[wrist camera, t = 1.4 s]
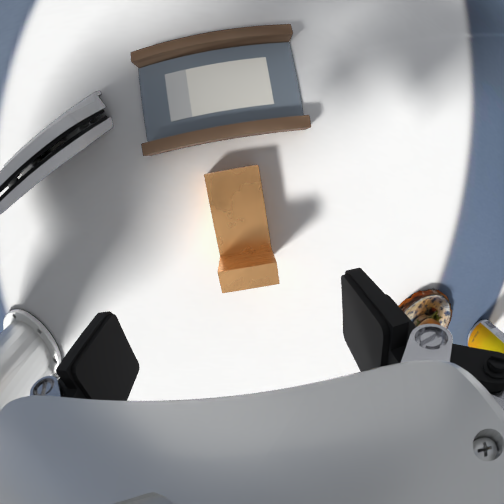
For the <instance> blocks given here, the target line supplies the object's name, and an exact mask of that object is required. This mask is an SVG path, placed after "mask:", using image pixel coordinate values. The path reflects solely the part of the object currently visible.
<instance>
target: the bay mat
mask: <svg viewBox="0 0 504 504" xmlns="http://www.w3.org/2000/svg"><path fill="white" fill-rule="evenodd" d="M138 70H139V80H140V89H141V98H142V106H143V113H144V121H145V128H146V134H147V141H148V142H150V141H153V140H157V139H161V138H165V137H170V136H174V135H178V134H183V133H187V132H192V131H197V130H202V129H207V128H212V127H217V126H223V125H229V124H235V123H242V122H248V121H256V120H263V119H272V118H281V117H291V116H303V109H302V103H301V98H300V92H299V87H298V82H297V76H296V71H295V66H294V61H293V57H292V52H291V47H290V43H289V42H283V43H267V44H256V45H247V46H238V47H231V48H224V49H218V50H212V51H207V52H201V53H196V54H192V55H187V56H183V57H178V58H174V59H170V60H166V61H162V62H159V63H155V64H152V65H148V66H145V67H142V68H139V69H138Z"/></svg>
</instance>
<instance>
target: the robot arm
mask: <svg viewBox="0 0 504 504" xmlns="http://www.w3.org/2000/svg"><path fill="white" fill-rule="evenodd" d="M341 285H342V307H343V334H344V338H345V341H346V343H347V345H348V347H349V349H350V351H351V353H352V355H353V357H354V359H355V361H356V363H357V365H358V367H359V369H360V371H361V372H358V373H354V374H350V375H345V376H341V377H337V378H333V379H328V380H324V381H320V382H315V383H310V384H305V385H300V386H295V387H290V388H284V389H278V390H272V391H266V392H259V393H252V394H244V395H236V396H227V397H217V398H205V399H190V400H169V401H127V399H128V396H129V394H130V391H131V389H132V386H133V384H134V381H135V379H136V377H137V374H138V372H139V363H138V361H137V359H136V357H135V355H134V353H133V351H132V349H131V347H130V345H129V343H128V341H127V339H126V336H125V334H124V332H123V330H122V328H121V325H120V323H119V321H118V319H117V317H116V315H114V314H112V312H110V311H109V312H101V313H98V314H97V315H96V316H95V317H94V319H93V320H92V321H91V322H90V324H89V325H88V326H87V328H86V329H85V330H84V331H83V333H82V334H81V335H80V337H79V338H78V339H77V341H76V342H75V343H74V345H73V346H72V347H71V349H70V350H69V352H68V353H67V354H66V356H65V357H64V358H63V360H62V361H61V355H60V351H59V349H58V346H57V344H56V342H55V340H54V338H53V337H52V335H51V334H50V332H49V331H48V330H47V329H46V327H45V326H44V325H43V324H42V323H41V322H40V321H39V320H38V319H36V318H35V317H34V316H33V315H31V314H30V313H28V312H26V311H24V310H20V309H14V310H11V311H10V312H9V313H7V315H6V316H5V318H4V322H3V327H4V330H3V331H2V332H1V333H0V504H504V353H501V352H497V351H491V350H484V349H479V348H473V347H467V346H462V345H456V344H452V341H453V339H452V335H451V333H450V331H449V330H448V329H446V328H445V327H443V326H441V325H437V324H423V325H420V326H418V327H417V326H416V325H415V324H414V323H413V322H412V321H411V320H410V318H409V317H408V316H407V315H406V314H405V313H404V312H403V311H402V310H401V308H400V307H399V306H398V305H397V304H396V303H395V302H394V301H393V300H392V299H391V298H390V296H388V295H386V294H384V293H383V292H382V290H381V289H380V288H379V287H378V286H377V285H376V284H375V283H374V282H373V281H372V280H371V279H370V278H369V277H368V276H367V274H366V273H365V272H364V271H363V270H362V269H361V268H356V269H352V270H347V271H346V272H345V275H342V276H341ZM56 372H57V374H58V375H59V377H60V379H59V380H57V378H56V377H54V376H50V375H53V374H55V373H56ZM29 395H30V396H29Z"/></svg>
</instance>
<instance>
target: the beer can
mask: <svg viewBox="0 0 504 504" xmlns="http://www.w3.org/2000/svg"><path fill="white" fill-rule="evenodd" d="M468 346H469V347H473V348H479V349H484V350H491V351H497V352H501V353H504V333H503V332H502V331H500V330H499V329H498V328H497V327H496V326H494V325H493V324H492V323H491V322H490V321H488V320H480V321H479V322H477V323H476V324H475V325H474V326H473V328H472V329H471V331H470V333H469V335H468Z"/></svg>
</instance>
